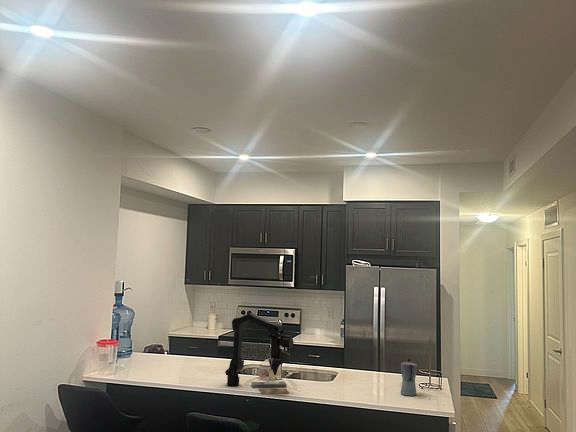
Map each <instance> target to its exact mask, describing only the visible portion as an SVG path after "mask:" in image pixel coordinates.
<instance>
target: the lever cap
mask: <svg viewBox="0 0 576 432" xmlns="http://www.w3.org/2000/svg"><path fill="white" fill-rule="evenodd" d="M269 375H270V377H273V378H274V377H281V369H280V368H278V370H277V373H276V375H274V373H273V369H269Z"/></svg>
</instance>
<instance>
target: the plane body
mask: <svg viewBox="0 0 576 432" xmlns="http://www.w3.org/2000/svg"><path fill="white" fill-rule="evenodd" d="M250 385H251V388H252V389H277V388H286V389H287V383H286V382H285V381H277V380H276V381H269V378H267V380H266V381H251V383H250Z"/></svg>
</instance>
